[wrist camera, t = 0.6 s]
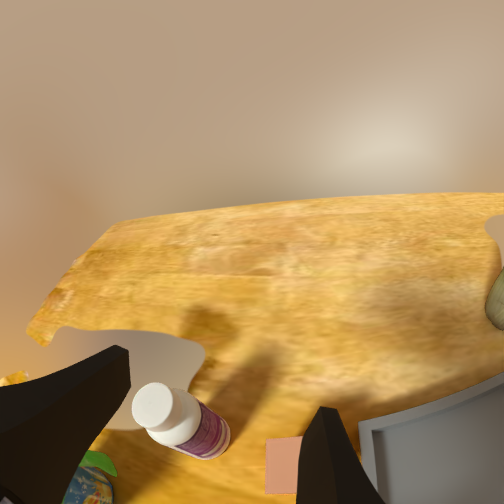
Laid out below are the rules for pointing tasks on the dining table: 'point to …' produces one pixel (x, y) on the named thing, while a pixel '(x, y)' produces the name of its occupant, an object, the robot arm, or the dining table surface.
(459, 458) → the grey bin
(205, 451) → the pill bottle
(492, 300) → the fennel bulb
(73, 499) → the snack cup
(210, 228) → the dining table surface
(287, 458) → the terracotta block
